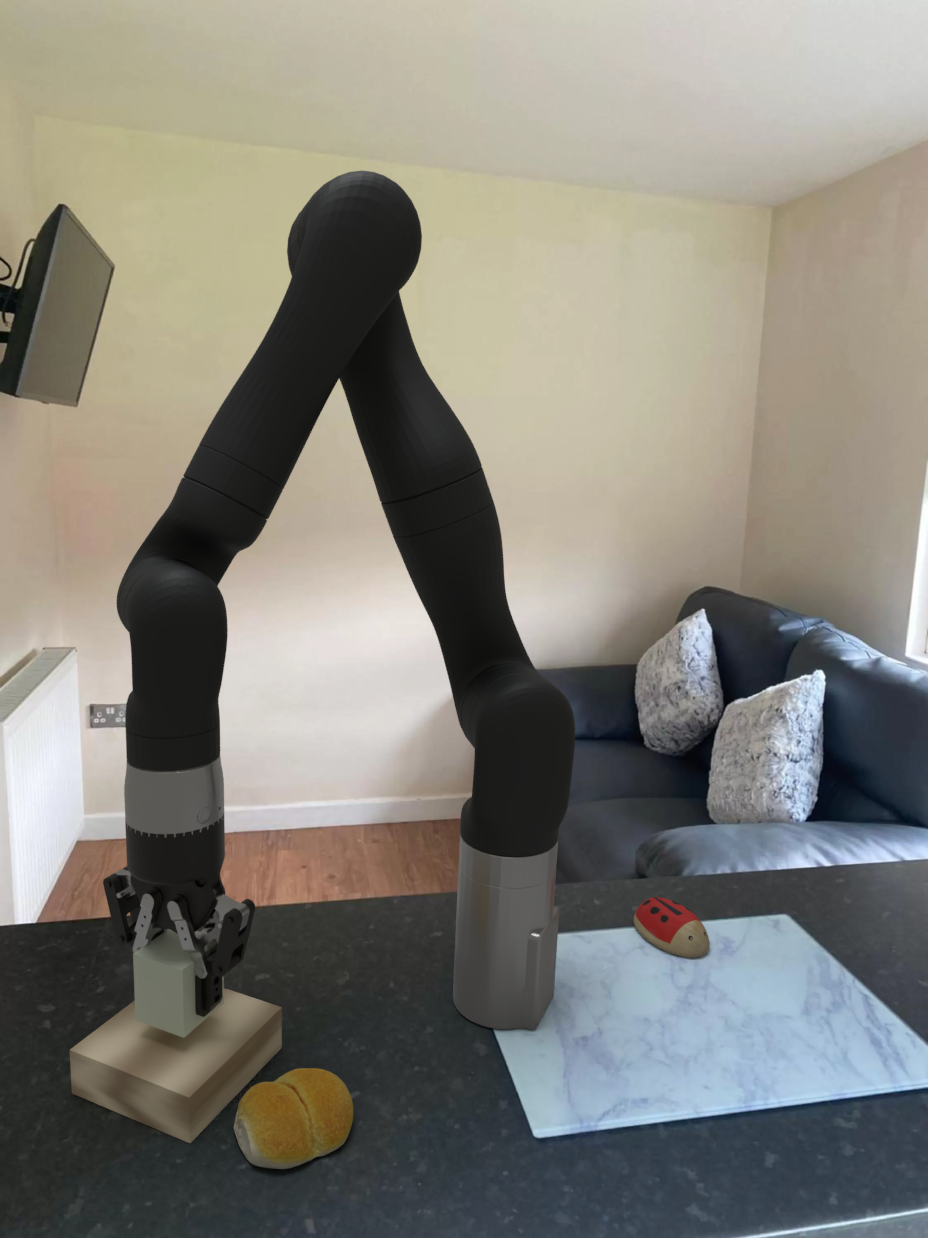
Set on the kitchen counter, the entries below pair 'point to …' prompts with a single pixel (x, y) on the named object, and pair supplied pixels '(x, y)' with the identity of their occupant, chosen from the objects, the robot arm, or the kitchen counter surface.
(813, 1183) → the kitchen counter surface
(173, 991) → the sage block
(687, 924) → the ladybug figurine
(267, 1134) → the bread roll
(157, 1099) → the birch plinth
